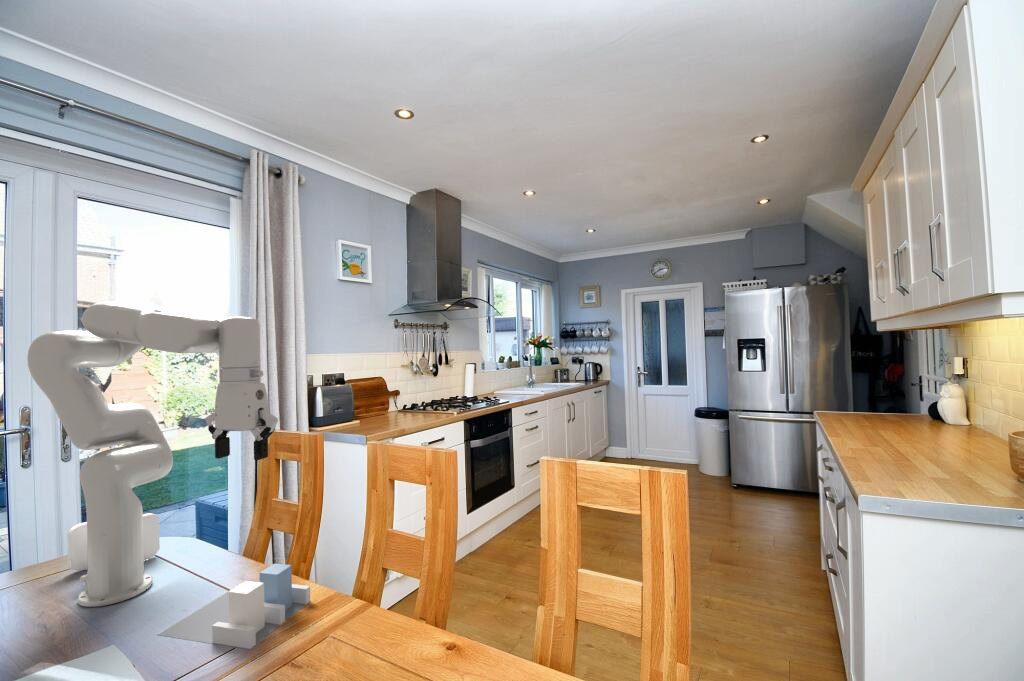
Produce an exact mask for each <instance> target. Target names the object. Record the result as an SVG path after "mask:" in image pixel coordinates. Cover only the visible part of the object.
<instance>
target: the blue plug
mask: <svg viewBox="0 0 1024 681" xmlns="http://www.w3.org/2000/svg"><path fill="white" fill-rule="evenodd" d="M292 572H293V571H292V564H283V563H282V564H281V563H273V564H271V565H269V566H268V567H267V568H265V569H263V570H262V571H260V572H259V582H261V583H264V602H265V603H273V604H280V605H285V611H286V610H287V609H288V608H290V607H291V606H292V584H293V581H292V578H293V575H292V574H293V573H292Z"/></svg>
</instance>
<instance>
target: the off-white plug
mask: <svg viewBox="0 0 1024 681" xmlns="http://www.w3.org/2000/svg"><path fill="white" fill-rule="evenodd" d="M228 591H229V623H230V624H237V625H244V626H251V627H255V630H256V633H257V632H258V631H259V630H261V629H262V628H263V627H264V626H265V613H264V583H261V582H260V581H252V580H245V581H244V582H241V583H240V584H238V585H236V586H235V587H233V588H232V589H229V590H228Z"/></svg>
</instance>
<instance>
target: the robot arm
mask: <svg viewBox="0 0 1024 681" xmlns="http://www.w3.org/2000/svg"><path fill="white" fill-rule="evenodd" d="M81 323H82V326H83V327H84V329H85V331H84V330H62V331H61V330H59V331H51V332H48V333H47V332H46V333H44V334H41V335H40V336H38V337H36V338H35V339H34V340H33V341H32V342H31V344H30V346H29V348H28V352H27V356H26V357H27V367H28V371H29V373H30V375H31V377H32V379H33V380H34V382H35V384H36V385H37V386H38V388H39V389H40V390H41V391H42V392H43V393H44V394H45V396H46V397H47V398H48V400H49V401H50V403H51V405H52V407H53V409H54V411H55V413H56V415H57V417H58V418H59V421H60V422H61V425H62V426H63V428H64V430H65V433H66V434H67V437H69V440H70V441H71V444H72V445H74V447H76V448H77V449H79V450H83V451H93V450H99V449H105V448H108V447H109V448H110V447H113V446H119V445H123V446H120V447H114V448H110V449H106V450H102V451H100V452H98V453H97V452H96V453H95V454H93V455H91V456H89V458H87V459H86V460H85V461H84V462H83V463H82V465H81V467H80V469H79V481H80V485H81V488H82V491H83V496H84V501H85V510H86V522H87V561H88V569H87V572H86V574H83V575H81V576H80V577H79V582H81V583H85V589H84V590H83V591H81V592H80V593H79V595H78V597H77V604H79V605H80V606H82V607H86V608H95V607H97V608H98V607H104V606H110V605H113V604H117V603H121V602H124V601H126V600H129V599H132V598H134V597H137V596H138V595H140V594H142V593H144V592H145V591H147V590H148V589H149V588H150V587H151V586H152V585H151V584H153V577H152V576H151V575H150V574H147V573H145V569H144V568H145V567H144V566H145V564H144V563H145V561H144V555H143V515H144V514H143V513H144V509H143V505H142V502H141V500H140V498H139V497H138V496H137V495H136V493H135V492H134V491H133V488H136V487H138V486H142V485H146V484H149V483H152V482H155V481H157V480H160V479H162V478H164V477H166V476H167V475H168V474H169V473H170V471H171V470H172V468H173V465H174V456H173V452H172V449H171V447H170V445H169V443H168V441H167V439H166V437H165V435H164V433H163V431H162V429H161V428H160V426H159V424H158V422H157V421H156V419H155V417H154V415H153V414H152V412H151V411H150V410H149V409H148V408H147V407H146V406H144V405H142V404H139V403H136V402H124V403H123V402H122V403H116V404H112V403H110V402H109V401H108V400H107V398H106V397H105V396H104V394H103V391H102V390H101V388H100V386H98V385H97V383H96V382H95V381H94V380H92V379H91V378H90V377H88V376H87V375H85V374H83V373H82V372H80V371H79V370H78V369H88V368H89V369H90V368H91V369H93V368H111V367H116V366H119V365H121V364H124V363H125V362H127V361H128V360H130V359H131V358H132V357H133V356H134V355H135V354H137V353H138V352H139V351H140V350H142V349H143V347H144V348H147V349H150V350H155V351H161V352H168V353H175V354H203V353H205V354H211V353H213V354H215V353H216V354H217V353H218V373H219V374H218V375H219V376H218V379H219V380H218V381H219V383H217V387H216V393H215V398H214V399H215V400H214V401H215V402H214V403H215V404H214V412H212V413H211V414H209V415H207V416H206V417H205V419H204V420H205V422H206V426H207V427H208V428H207V430H208V432H209V433H210V434H211V438H212V439H213V440H214V458H215V459H216V460H217V459H223V458H225V457H229V456H230V455H231V444H230V443H231V440H230V436H228V435H229V434H230V432H251V434H252V435H253V437H254V438H255V439H256V440H253V460H254V461H261V460H263V459H267V458H268V457H269V439H270V438H272V434H273V433H274V432H275V430H276V426H277V424H278V422H279V419H278V417H276V415H273V414H272V413H270V408H269V399H268V398H269V397H268V394H267V393H268V392H267V388H266V385H265V382H264V381H262V380H261V378H262V377H263V376H264V370H262V369H261V331H260V330H261V327H260V326H261V325H260V322H259V320H258V319H257V318H255V317H249V316H248V317H247V316H230V317H224V318H220V317H219V318H218V317H210V316H209V317H207V316H205V317H204V316H194V315H178V314H169V313H166V312H165V311H164V310H163V309H161V308H159V307H154V306H149V305H148V304H144V303H143V304H142V303H135V302H134V303H131V302H121V301H100V302H97V303H93V304H91V305H90V306H88V307H86V309H84V311H83V314H82V315H81ZM146 589H147V590H146Z"/></svg>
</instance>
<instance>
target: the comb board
mask: <svg viewBox="0 0 1024 681" xmlns="http://www.w3.org/2000/svg"><path fill="white" fill-rule="evenodd" d="M229 591H230V590H228V591H227V592H225V593H223V594H221V595H220V596H219V597H217V598H215V599H214V600H212V601H209V603H207V604H206V605H204V606H202V607H201V608H198V609H197V610H196V611H194V612H192V613H191V614H189V615H188V616H186V617H185V618H183V619H181V620H180V621H178V622H176V623H174V624H173V625H171V626H170V627H168V628H166V629H165V630H163V631H162V632H160V633H158V634H157V636H160V637H166V638H167V637H168V638H173V639H179V640H187V641H192V642H198V643H203V644H210V645H211V644H212V645H217V646H222V647H223V646H225V647H229V648H236V649H240V650H242V649H243V650H248V651H250V650H251V649H252V648H254V647H255V646H256V645H257V644H259V643H260V642H262V641H263V640H264V639H265V638H266V637H267V636H269V635H270V634H271V633H272V632H274V631H275V630H276V629H277V628H279V627H281V625H283V624H284V623H285V622H286V621H288V620H290V618H291V617H293V616H294V615H295V614H296V613H297V612H299V611H300V610H301V609H303V608H304V607H305V606H307V604H309V603H310V602H311V601H312V600H311V586H310V585H302V584H295V583H292V606H291V607H290V608H288V609H287V610H286V611H285V605H280V604H273V603H265V602H264V613H265V626H264V627H263V628H262V629H261V630H259V631H258V632H257V633H256V630H255V627H251V626H244V625H237V624H230V623H229Z"/></svg>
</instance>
